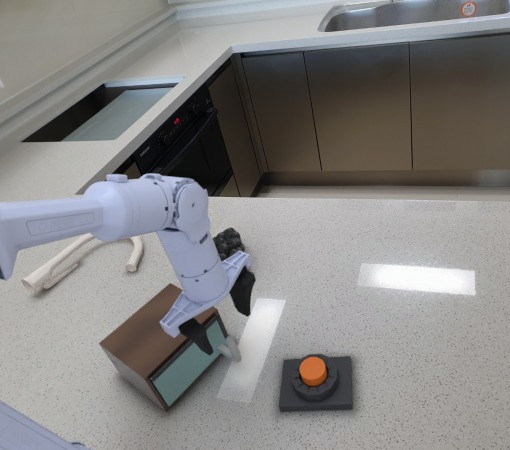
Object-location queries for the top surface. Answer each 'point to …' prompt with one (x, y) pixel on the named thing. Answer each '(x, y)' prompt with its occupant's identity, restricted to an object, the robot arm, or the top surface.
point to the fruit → (228, 243)
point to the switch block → (317, 397)
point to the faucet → (45, 271)
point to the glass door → (193, 361)
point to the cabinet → (149, 343)
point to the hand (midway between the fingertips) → (226, 331)
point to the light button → (313, 371)
